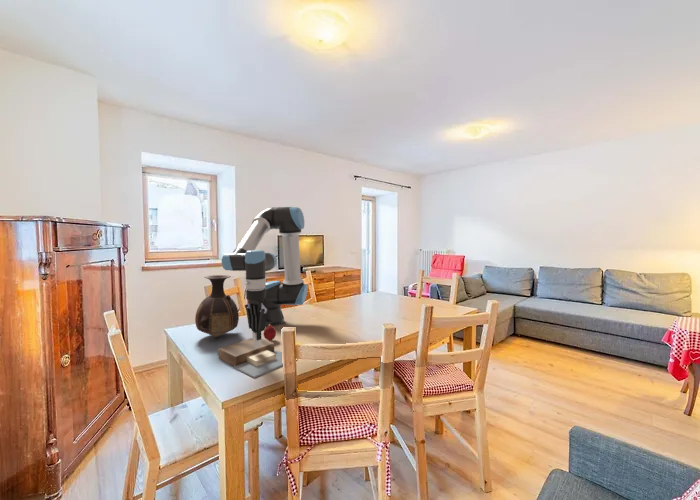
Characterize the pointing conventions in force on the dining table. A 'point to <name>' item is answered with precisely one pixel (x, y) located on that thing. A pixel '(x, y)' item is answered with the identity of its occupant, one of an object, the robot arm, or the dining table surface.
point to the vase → (217, 310)
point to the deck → (242, 351)
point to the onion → (269, 333)
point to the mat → (261, 366)
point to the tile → (261, 357)
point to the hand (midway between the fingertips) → (257, 347)
